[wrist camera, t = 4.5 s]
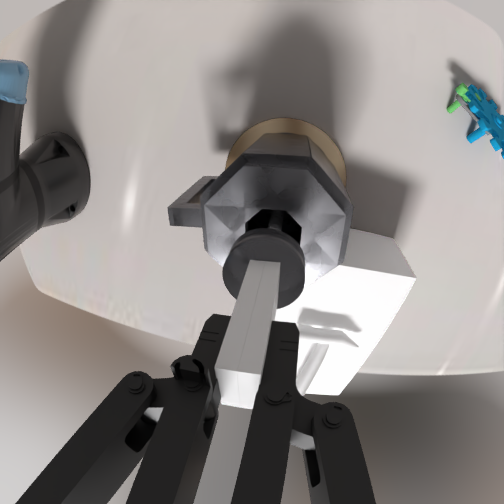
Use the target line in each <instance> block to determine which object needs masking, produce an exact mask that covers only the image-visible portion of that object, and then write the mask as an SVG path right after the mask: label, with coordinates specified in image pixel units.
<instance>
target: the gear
mask: <svg viewBox="0 0 504 504" xmlns="http://www.w3.org/2000/svg"><path fill="white" fill-rule="evenodd" d="M455 90H456V92H457V93H458V94H457V95H456V99H457V100H456V101H455V102H454V103H453V104H451V105H450V106H449V107H448V108H447V111H448V112H449V113H452V112H453V111H454V110H455V109H457V108H458V107H459V106H460V105H462V106H463V107H464V109H465V110H466V111H467V112H468V113H469V114H470V115H471V116H472V117H473V119H474V120H475V121H476V122H477V123H478V125H479V128H478V129H476V130H475V131H474V132H472V133H471V134H469V135H468V136H467V140H468V141H469V142H470V143H472V142H474V141H475V140H477V139H478V138H480V137H482V136H483V135H485V134H487V135H489V134H491V135H492V136H493V138H492V139H491V140H490V143H491V145H492V146H493V148H494V149H495V151H497V150H499V149H501V148H502V150H503V151H502V152H501V155H502V157H503V159H504V116H503V115H500V114H499V113H497V111H496V109H497V106H496V104H495V103H494V101H493V100H492V99H491V100H490V101H489V102H488V101H487V100H486V97H487V95H486V94H485V92H484V91H483V90H482V89H481V88H480V89H479V90H478V89H477V88H476V87H475V86H474V85H472V84H471V85H470V86H469V87H467V86H466V85H465V84H464V83H461V84H460V85H459V86H458V87H457V88H456V89H455ZM468 101H469V102H468Z"/></svg>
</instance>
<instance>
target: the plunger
mask: <svg viewBox="0 0 504 504" xmlns="http://www.w3.org/2000/svg"><path fill="white" fill-rule="evenodd" d="M251 219H252V220H253V221H254V222H255V223H256V224H257V225H259V226H260V227H262V228H259V229H254V230H250V231H248V232H246V233H244V234H242V235H241V236H240V237H239V238H238V239H237V240H236V241H235V242H234V244H233V246H232V247H231V250H230V252H229V254H228V256H227V258H226V261H225V263H224V266H223V280H224V284H225V286H226V288H227V289H228V291H229V292H230V294H231V295H232V296H233V297H234V298H235V299H237V298H238V295H239V292H240V289H241V286H242V283H243V280H244V277H245V274H246V271H247V268H248V265H249V262H250V260H258V261H269V262H280V277H279V291H278V304H277V309H280V308H283V307H286V306H288V305H290V304H291V303H293V302H294V301H295V300H296V299H297V298H298V297H299V296H300V295H301V293H302V291H303V289H304V285H305V256H304V253H303V250H302V248H301V247H300V245H299V244H298V243H297V242H296V241H295V240H294V239H293V238H292V237H291V236H289V235H288V234H286V233H290V232H295V231H298V230H300V229H301V228H302V227H301V226H300V225H299V224H298V223H297V222H296V221H295V220H294V218H293V217H292V216H291V215H290V214H289V213H288V212H287V211H284V210H271V209H261V210H260V211H259V212H258V213H256V214H255V215H254V216H253V217H252V218H251Z"/></svg>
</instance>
